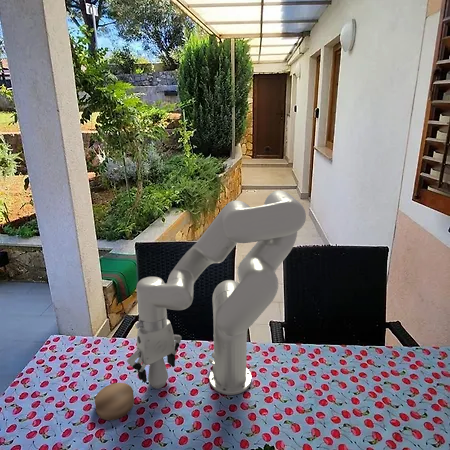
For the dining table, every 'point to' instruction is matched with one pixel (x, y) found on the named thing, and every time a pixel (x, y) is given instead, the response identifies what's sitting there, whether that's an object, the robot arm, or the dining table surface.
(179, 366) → the dining table surface
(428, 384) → the dining table surface
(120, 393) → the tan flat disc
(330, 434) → the dining table surface
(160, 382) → the salt shaker
